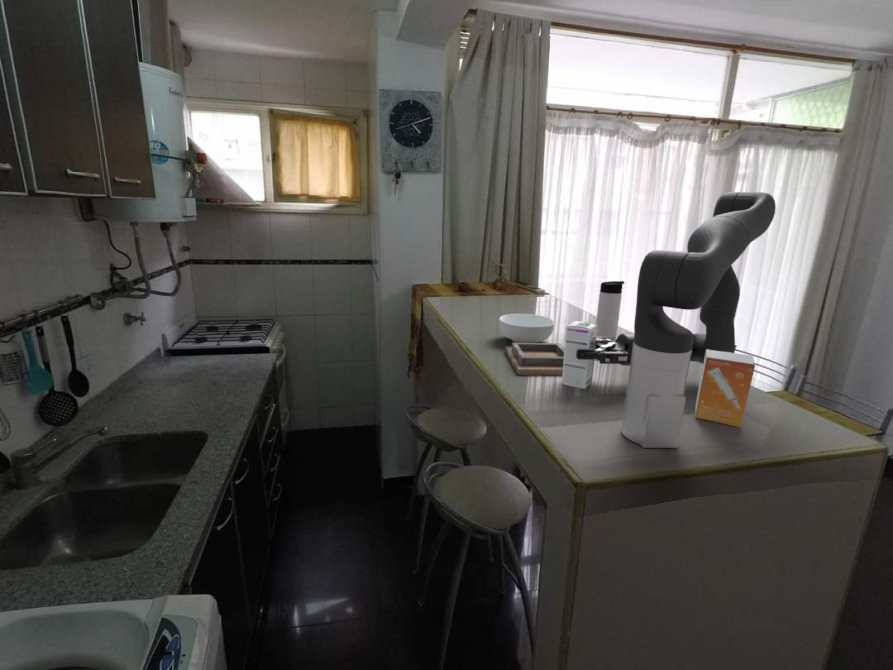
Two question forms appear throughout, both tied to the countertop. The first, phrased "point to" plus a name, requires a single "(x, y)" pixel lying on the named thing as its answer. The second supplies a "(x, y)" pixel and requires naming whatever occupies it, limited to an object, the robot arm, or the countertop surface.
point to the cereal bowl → (526, 327)
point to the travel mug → (609, 309)
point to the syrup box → (576, 338)
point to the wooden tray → (536, 358)
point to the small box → (724, 387)
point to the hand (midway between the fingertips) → (571, 348)
